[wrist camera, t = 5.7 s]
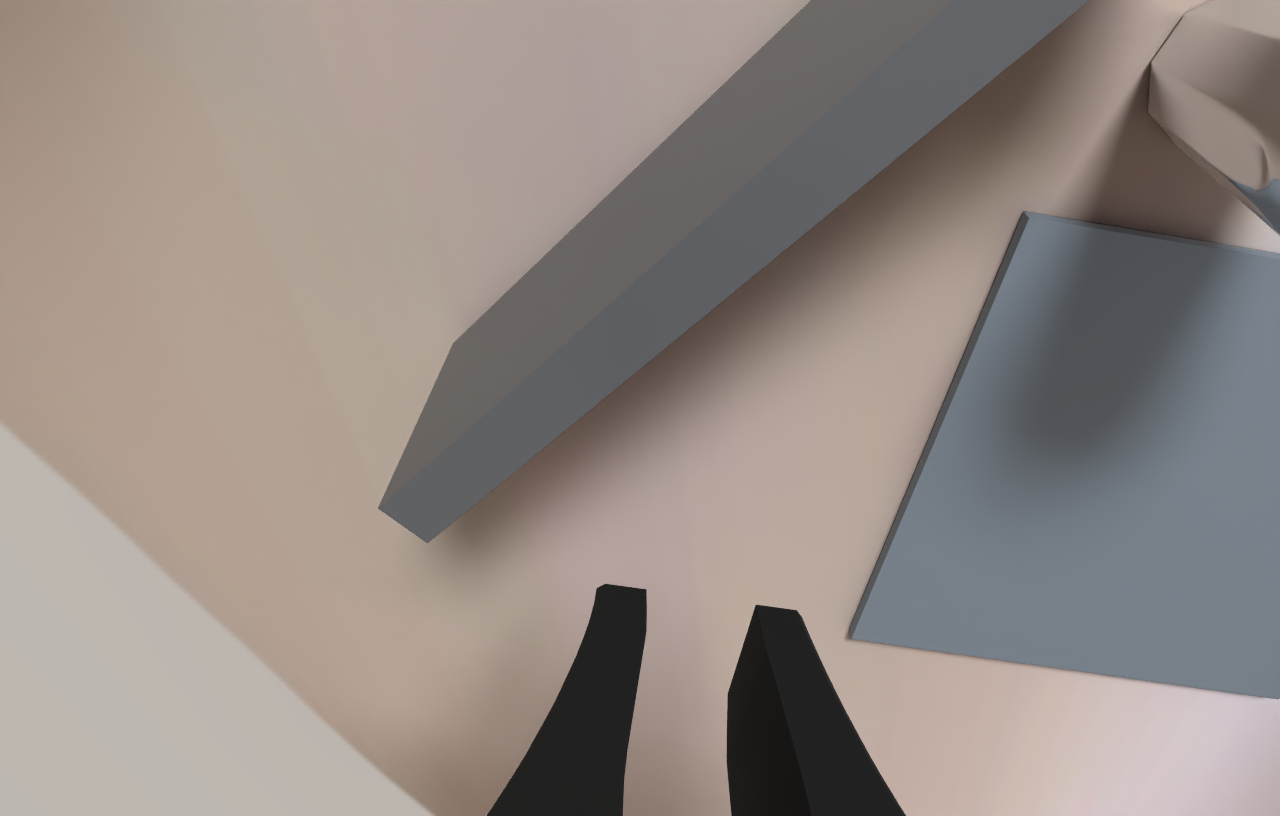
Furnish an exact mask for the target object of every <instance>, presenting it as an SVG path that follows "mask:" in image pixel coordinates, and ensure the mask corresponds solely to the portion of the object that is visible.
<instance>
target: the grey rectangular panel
mask: <svg viewBox="0 0 1280 816" xmlns="http://www.w3.org/2000/svg"><path fill="white" fill-rule="evenodd" d="M1088 1H1089V0H811V1H810V2H809V3H808V4H807V5H806V6H805V7H804V8H803V9H802V10H801V11H800V12H799V13H797V14H796V15H795V16H794V17H793V18H792V19H791V20H790V21H789V22H788V23H787V24H786V25H785V26H784V27H783V28H782V29H781V30H780V31H779V32H778V33H777V34H776V35H775V36H773V37H772V38H771V39H770V40H769V41H768V42H767V43H766V44H765V45H764V46H763V47H762V48H761V49H760V50H759V51H758V52H757V53H756V54H755V55H754V56H753V57H752V58H751V59H749V60H748V61H747V62H746V63H745V64H744V65H743V66H742V67H741V68H740V69H739V70H738V71H737V72H736V73H735V74H734V75H733V76H732V77H731V78H730V79H729V80H728V81H727V82H725V83H724V84H723V85H722V86H721V87H720V88H719V89H718V90H717V91H716V92H715V93H714V94H713V95H712V96H711V97H710V98H709V99H708V100H707V101H706V102H705V103H704V104H703V105H701V106H700V107H699V108H698V109H697V110H696V111H695V112H694V113H693V114H692V115H691V116H690V117H689V118H688V119H687V120H686V121H685V122H684V123H683V124H682V125H681V126H680V127H679V128H677V129H676V130H675V131H674V132H673V133H672V134H671V135H670V136H669V137H668V138H667V139H666V140H665V141H664V142H663V143H662V144H661V145H660V146H659V147H658V148H657V149H656V150H655V151H653V152H652V153H651V154H650V155H649V156H648V157H647V158H646V159H645V160H644V161H643V162H642V163H641V164H640V165H639V166H638V167H637V168H636V169H635V170H634V171H633V172H632V173H630V174H629V175H628V176H627V177H626V178H625V179H624V180H623V181H622V182H621V183H620V184H619V185H618V186H617V187H616V188H615V189H614V190H613V191H612V192H611V193H610V194H609V195H608V196H606V197H605V198H604V199H603V200H602V201H601V202H600V203H599V204H598V205H597V206H596V207H595V208H594V209H593V210H592V211H591V212H590V213H589V214H588V215H587V216H586V217H585V218H584V219H582V220H581V221H580V222H579V223H578V224H577V225H576V226H575V227H574V228H573V229H572V230H571V231H570V232H569V233H568V234H567V235H566V236H565V237H564V238H563V239H562V240H561V241H560V242H558V243H557V244H556V245H555V246H554V247H553V248H552V249H551V250H550V251H549V252H548V253H547V254H546V255H545V256H544V257H543V258H542V259H541V260H540V261H539V262H538V263H537V264H536V265H534V266H533V267H532V268H531V269H530V270H529V271H528V272H527V273H526V274H525V275H524V276H523V277H522V278H521V279H520V280H519V281H518V282H517V283H516V284H515V285H514V286H513V287H512V288H510V289H509V290H508V291H507V292H506V293H505V294H504V295H503V296H502V297H501V298H500V299H499V300H498V301H497V302H496V303H495V304H494V305H493V306H492V307H491V308H490V309H489V310H488V311H486V312H485V313H484V314H483V315H482V316H481V317H480V318H479V319H478V320H477V321H476V322H475V323H474V324H473V325H472V326H471V327H470V328H469V329H468V330H467V331H466V332H465V333H463V334H462V335H461V336H460V337H459V338H458V339H457V340H456V341H455V342H454V343H453V345H452V347H451V349H450V351H449V354H448V356H447V358H446V360H445V362H444V365H443V367H442V369H441V371H440V373H439V376H438V378H437V380H436V382H435V384H434V387H433V389H432V391H431V393H430V395H429V398H428V400H427V402H426V404H425V406H424V408H423V411H422V413H421V415H420V417H419V419H418V422H417V424H416V426H415V428H414V430H413V433H412V435H411V437H410V439H409V441H408V444H407V446H406V448H405V450H404V452H403V455H402V457H401V459H400V461H399V463H398V466H397V468H396V470H395V472H394V474H393V476H392V479H391V481H390V483H389V485H388V487H387V490H386V492H385V494H384V496H383V498H382V501H381V503H380V505H379V507H378V509H379V510H381V511H382V512H384V513H385V514H387V515H388V516H389V517H391V518H392V519H394V520H395V521H397V522H398V523H399V524H401V525H402V526H404V527H405V528H407V529H408V530H409V531H411V532H412V533H414V534H415V535H417V536H418V537H419V538H421V539H422V540H424V541H425V542H427V543H429V542H430V541H431V540H432V539H434V538H435V537H436V536H437V535H438V534H440V533H441V532H442V531H443V530H444V529H446V528H447V527H448V526H449V525H451V524H452V523H453V522H454V521H455V520H457V519H458V518H459V517H460V516H462V515H463V514H464V513H465V512H466V511H468V510H469V509H470V508H471V507H473V506H474V505H475V504H476V503H477V502H479V501H480V500H481V499H482V498H483V497H485V496H486V495H487V494H488V493H490V492H491V491H492V490H493V489H494V488H496V487H497V486H498V485H499V484H501V483H502V482H503V481H504V480H505V479H507V478H508V477H509V476H510V475H511V474H513V473H514V472H515V471H516V470H518V469H519V468H520V467H521V466H522V465H524V464H525V463H526V462H527V461H529V460H530V459H531V458H532V457H533V456H535V455H536V454H537V453H538V452H540V451H541V450H542V449H543V448H544V447H546V446H547V445H548V444H549V443H550V442H552V441H553V440H554V439H555V438H557V437H558V436H559V435H560V434H561V433H563V432H564V431H565V430H566V429H568V428H569V427H570V426H571V425H572V424H574V423H575V422H576V421H577V420H578V419H580V418H581V417H582V416H583V415H585V414H586V413H587V412H588V411H589V410H591V409H592V408H593V407H594V406H596V405H597V404H598V403H599V402H600V401H602V400H603V399H604V398H605V397H607V396H608V395H609V394H610V393H611V392H613V391H614V390H615V389H616V388H617V387H619V386H620V385H621V384H622V383H624V382H625V381H626V380H627V379H628V378H630V377H631V376H632V375H633V374H635V373H636V372H637V371H638V370H639V369H641V368H642V367H643V366H644V365H646V364H647V363H648V362H649V361H650V360H652V359H653V358H654V357H655V356H656V355H658V354H659V353H660V352H661V351H663V350H664V349H665V348H666V347H667V346H669V345H670V344H671V343H672V342H674V341H675V340H676V339H677V338H678V337H680V336H681V335H682V334H683V333H684V332H686V331H687V330H688V329H689V328H691V327H692V326H693V325H694V324H695V323H697V322H698V321H699V320H700V319H702V318H703V317H704V316H705V315H706V314H708V313H709V312H710V311H711V310H713V309H714V308H715V307H716V306H717V305H719V304H720V303H721V302H722V301H723V300H725V299H726V298H727V297H728V296H730V295H731V294H732V293H733V292H734V291H736V290H737V289H738V288H739V287H741V286H742V285H743V284H744V283H745V282H747V281H748V280H749V279H750V278H751V277H753V276H754V275H755V274H756V273H758V272H759V271H760V270H761V269H762V268H764V267H765V266H766V265H767V264H769V263H770V262H771V261H772V260H773V259H775V258H776V257H777V256H778V255H780V254H781V253H782V252H783V251H784V250H786V249H787V248H788V247H789V246H790V245H792V244H793V243H794V242H795V241H797V240H798V239H799V238H800V237H801V236H803V235H804V234H805V233H806V232H808V231H809V230H810V229H811V228H812V227H814V226H815V225H816V224H817V223H819V222H820V221H821V220H822V219H823V218H825V217H826V216H827V215H828V214H829V213H831V212H832V211H833V210H834V209H836V208H837V207H838V206H839V205H840V204H842V203H843V202H844V201H845V200H847V199H848V198H849V197H850V196H851V195H853V194H854V193H855V192H856V191H857V190H859V189H860V188H861V187H862V186H864V185H865V184H866V183H867V182H868V181H870V180H871V179H872V178H873V177H875V176H876V175H877V174H878V173H879V172H881V171H882V170H883V169H884V168H886V167H887V166H888V165H889V164H890V163H892V162H893V161H894V160H895V159H896V158H898V157H899V156H900V155H901V154H903V153H904V152H905V151H906V150H907V149H909V148H910V147H911V146H912V145H914V144H915V143H916V142H917V141H918V140H920V139H921V138H922V137H923V136H924V135H926V134H927V133H928V132H929V131H931V130H932V129H933V128H934V127H935V126H937V125H938V124H939V123H940V122H942V121H943V120H944V119H945V118H946V117H948V116H949V115H950V114H951V113H953V112H954V111H955V110H956V109H957V108H959V107H960V106H961V105H962V104H963V103H965V102H966V101H967V100H968V99H970V98H971V97H972V96H973V95H974V94H976V93H977V92H978V91H979V90H981V89H982V88H983V87H984V86H985V85H987V84H988V83H989V82H990V81H992V80H993V79H994V78H995V77H996V76H998V75H999V74H1000V73H1001V72H1002V71H1004V70H1005V69H1006V68H1007V67H1009V66H1010V65H1011V64H1012V63H1013V62H1015V61H1016V60H1017V59H1018V58H1020V57H1021V56H1022V55H1023V54H1024V53H1026V52H1027V51H1028V50H1029V49H1030V48H1032V47H1033V46H1034V45H1035V44H1037V43H1038V42H1039V41H1040V40H1041V39H1043V38H1044V37H1045V36H1046V35H1048V34H1049V33H1050V32H1051V31H1052V30H1054V29H1055V28H1056V27H1057V26H1059V25H1060V24H1061V23H1062V22H1063V21H1065V20H1066V19H1067V18H1068V17H1069V16H1071V15H1072V14H1073V13H1074V12H1076V11H1077V10H1078V9H1079V8H1080V7H1082V6H1083V5H1084V4H1085V3H1087V2H1088Z"/></svg>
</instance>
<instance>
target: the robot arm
mask: <svg viewBox="0 0 1280 816" xmlns="http://www.w3.org/2000/svg"><path fill="white" fill-rule="evenodd" d="M646 621H647V603H646V589H639V588H632V587H624V586H617V585H610V584H604V585H602V586H600V587H598V588H597V590H596V596H595V602H594V606H593V610H592V614H591V617H590V621H589V624H588V627H587V630H586V632H585V635H584V638H583V640H582V643H581V645H580V648H579V650H578V653H577V655H576V658H575V660H574V662H573V665H572V667H571V669H570V671H569V673H568V675H567V677H566V679H565V682H564V684H563V686H562V688H561V690H560V692H559V694H558V697H557V699H556V701H555V703H554V704H553V706H552V708H551V710H550V712H549V714H548V716H547V717H546V719H545V721H544V723H543V725H542V726H541V728H540V730H539V732H538V734H537V735H536V737H535V739H534V741H533V743H532V744H531V746H530V748H529V750H528V752H527V753H526V755H525V757H524V758H523V760H522V762H521V763H520V765H519V767H518V768H517V770H516V772H515V773H514V775H513V776H512V778H511V779H510V781H509V783H508V784H507V786H506V787H505V789H504V790H503V792H502V793H501V795H500V797H499V798H498V800H497V801H496V803H495V804H494V806H493V807H492V809H491V810H490V812H489V813H488V815H487V816H623V792H624V775H625V766H626V757H627V749H628V742H629V736H630V730H631V724H632V718H633V711H634V705H635V699H636V693H637V686H638V680H639V674H640V668H641V661H642V655H643V649H644V643H645V636H646ZM727 770H728V781H729V792H730V803H731V813H732V816H906V815H905V813H904V812H903V810H902V809H901V807H900V806H899V804H898V802H897V801H896V799H895V797H894V796H893V794H892V792H891V791H890V789H889V788H888V786H887V784H886V783H885V781H884V779H883V778H882V776H881V774H880V773H879V771H878V769H877V767H876V766H875V764H874V762H873V760H872V759H871V757H870V755H869V753H868V752H867V750H866V748H865V746H864V744H863V742H862V741H861V739H860V737H859V735H858V733H857V731H856V729H855V728H854V726H853V724H852V722H851V720H850V718H849V716H848V715H847V713H846V711H845V709H844V707H843V705H842V703H841V701H840V699H839V697H838V695H837V693H836V691H835V689H834V687H833V685H832V683H831V681H830V679H829V677H828V675H827V673H826V670H825V668H824V666H823V664H822V662H821V660H820V658H819V655H818V653H817V651H816V649H815V647H814V644H813V642H812V640H811V638H810V635H809V633H808V631H807V628H806V626H805V624H804V621H803V619H802V617H801V615H800V614H799V613H798V612H797V610H790V609H783V608H776V607H769V606H761V605H756V606H755V609H754V613H753V616H752V619H751V622H750V625H749V628H748V632H747V635H746V638H745V641H744V644H743V647H742V651H741V654H740V657H739V660H738V663H737V666H736V670H735V673H734V676H733V679H732V682H731V685H730V689H729V692H728V710H727Z"/></svg>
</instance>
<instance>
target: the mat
mask: <svg viewBox="0 0 1280 816" xmlns="http://www.w3.org/2000/svg"><path fill="white" fill-rule="evenodd" d="M849 631H850V636H851V639H854V640H861V641H868V642H875V643H882V644H889V645H896V646H903V647H911V648H918V649H925V650H932V651H939V652H946V653H953V654H960V655H967V656H974V657H982V658H989V659H996V660H1003V661H1010V662H1017V663H1024V664H1031V665H1038V666H1045V667H1053V668H1060V669H1067V670H1074V671H1081V672H1088V673H1095V674H1102V675H1109V676H1116V677H1123V678H1131V679H1138V680H1145V681H1152V682H1159V683H1166V684H1173V685H1180V686H1187V687H1194V688H1202V689H1209V690H1216V691H1223V692H1230V693H1237V694H1244V695H1251V696H1258V697H1265V698H1273V699H1279V698H1280V254H1278V253H1272V252H1266V251H1260V250H1254V249H1248V248H1242V247H1236V246H1230V245H1224V244H1218V243H1212V242H1206V241H1200V240H1194V239H1188V238H1182V237H1176V236H1170V235H1164V234H1158V233H1152V232H1146V231H1140V230H1133V229H1127V228H1121V227H1115V226H1109V225H1103V224H1097V223H1091V222H1085V221H1079V220H1073V219H1067V218H1061V217H1055V216H1049V215H1043V214H1037V213H1031V212H1025V211H1024V212H1023V214H1022V216H1021V219H1020V221H1019V224H1018V226H1017V228H1016V231H1015V233H1014V236H1013V238H1012V240H1011V243H1010V245H1009V248H1008V250H1007V252H1006V255H1005V257H1004V260H1003V262H1002V264H1001V267H1000V269H999V272H998V274H997V276H996V279H995V281H994V283H993V286H992V288H991V291H990V293H989V295H988V298H987V300H986V303H985V305H984V307H983V310H982V312H981V315H980V317H979V319H978V322H977V324H976V327H975V329H974V331H973V334H972V336H971V339H970V341H969V343H968V346H967V348H966V351H965V353H964V355H963V358H962V360H961V363H960V365H959V367H958V370H957V372H956V375H955V377H954V379H953V382H952V384H951V387H950V389H949V391H948V394H947V396H946V399H945V401H944V403H943V406H942V408H941V411H940V413H939V415H938V418H937V420H936V423H935V425H934V427H933V430H932V432H931V435H930V437H929V439H928V442H927V444H926V446H925V449H924V451H923V454H922V456H921V458H920V461H919V463H918V466H917V468H916V470H915V473H914V475H913V478H912V480H911V482H910V485H909V487H908V490H907V492H906V494H905V497H904V499H903V502H902V504H901V506H900V509H899V511H898V514H897V516H896V518H895V521H894V523H893V526H892V528H891V530H890V533H889V535H888V538H887V540H886V542H885V545H884V547H883V550H882V552H881V554H880V557H879V559H878V562H877V564H876V566H875V569H874V571H873V574H872V576H871V578H870V581H869V583H868V586H867V588H866V590H865V593H864V595H863V598H862V600H861V602H860V605H859V607H858V609H857V612H856V614H855V617H854V619H853V621H852V624H851V626H850V629H849Z"/></svg>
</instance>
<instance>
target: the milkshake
mask: <svg viewBox="0 0 1280 816" xmlns="http://www.w3.org/2000/svg"><path fill="white" fill-rule="evenodd" d="M1148 113H1149V114H1150V115H1151V116H1152V117H1153V118H1154V119H1155V121H1156V122H1157V123H1158V124H1159V125H1160V126H1161V128H1162V129H1163V130H1164V131H1165V132H1166V133H1167V135H1168V136H1169V137H1170V138H1171V139H1172V141H1173V142H1174V143H1175V144H1176V145H1177V146H1178V147H1179V148H1180V149H1181V150H1182V151H1183V152H1185V153H1186V154H1187V155H1188V156H1189V157H1190V158H1191V159H1193V160H1194V161H1195V162H1196V163H1197V164H1198V165H1199V166H1201V167H1202V168H1203V169H1204V170H1205V171H1206V172H1207V173H1209V174H1210V175H1211V176H1212V177H1213V178H1214V179H1215V180H1217V181H1218V182H1219V183H1220V184H1221V185H1222V186H1224V187H1225V188H1226V189H1227V190H1228V191H1229V192H1230V193H1232V194H1233V195H1234V196H1235V197H1236V198H1237V199H1238V200H1240V201H1241V202H1242V203H1243V204H1244V205H1245V206H1246V207H1248V208H1249V209H1250V210H1251V211H1252V212H1253V213H1254V214H1256V215H1257V216H1258V217H1259V218H1260V219H1261V220H1262V221H1264V222H1265V223H1266V224H1267V225H1268V226H1269V227H1270V228H1271V229H1273V230H1274V231H1275V232H1276V233H1277V234H1278V235H1279V236H1280V0H1210V1H1208V2H1206V3H1204V4H1202V5H1200V6H1198V7H1196V8H1195V9H1193V10H1191V11H1189V12H1187V13H1186V14H1185V15H1184V16H1183V18H1182V19H1181V21H1180V22H1179V24H1178V25H1177V26H1176V28H1175V29H1174V31H1173V32H1172V34H1171V35H1170V36H1169V38H1168V39H1167V41H1166V42H1165V43H1164V45H1163V46H1162V48H1161V49H1160V51H1159V52H1158V53H1157V55H1156V56H1155V58H1154V59H1153V60H1152V62H1151V73H1150V88H1149V102H1148Z"/></svg>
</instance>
